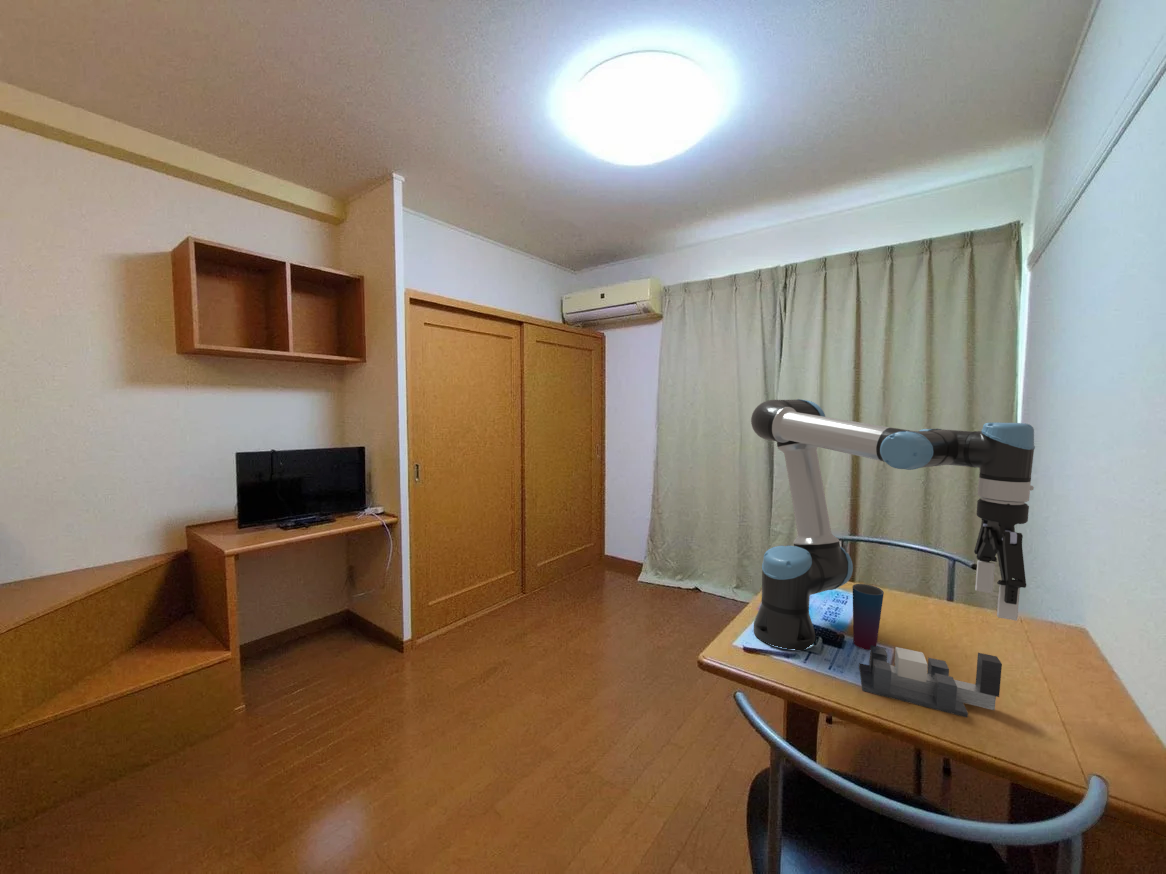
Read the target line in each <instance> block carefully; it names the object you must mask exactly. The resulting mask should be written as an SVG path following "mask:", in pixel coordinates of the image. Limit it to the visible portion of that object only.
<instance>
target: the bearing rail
mask: <svg viewBox="0 0 1166 874" xmlns="http://www.w3.org/2000/svg"><path fill="white" fill-rule="evenodd" d="M888 657H889V655H888V652H887V649H886V648H885V647H882V646H881V647H880V646H873V645H870V650H869V661H868V663H869V664H865V663H862V662H859V664H858V669H859V675H860V682H861V683H860V684H861V690H862V692H867V693H870V694H873V695H878V696H881V697H886V698H889V699H894V700H897V701H900V702H904V703H908V704H912V705H916V706H921V707H925V708H928V709H932V710H936V711H940V712H944V713H948V714H952V715H955V716H959V717H963V718H968V717H969V712H968V710H967V708H966V706H965V703H962V702H958V701H956V695H957V685H956V683H955V681H954V680H955V679H954V677H953V676H951V675H950V668H949V666H948V664H947V662H946V660H941V659H937V658H932V657H928V658H927V664H928V665H927V674H932V675H935V676H934V690H933V695H930V694H926V693H922V692H917V691H913V690H909V689H905V688H901V687H897V686H893V685H891V667H890V665H891V663H890V662H888Z"/></svg>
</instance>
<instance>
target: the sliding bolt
mask: <svg viewBox="0 0 1166 874" xmlns="http://www.w3.org/2000/svg"><path fill="white" fill-rule="evenodd" d="M976 660H977V661H976V673H975V674H976V675H975V683H971V682H965V681H962V680H957V679H954V681H955V683H956V685H957V695H956V701H958V702H962V703H964V704H966V705H971V706H975V707H978V708H983V709H986V710H992V711H996V701H997V699H996V698H1000V690H1001V689H1000V688H1001V678H1002V666H1003V663H1002V662H1001V660H1000V659H999V657H998V656H997V655H992V654H988V653H987V654H986V653H981V652H977V659H976ZM890 667H891V685H893V686H897V687H901V688H905V689H909V690H913V691H917V692H922V693H926V694H930V695H933V690H934V676H935V675H932V674H927V679H926V682H922V681H918V680H914V679H910V678H906V677H901V676H898V675H897V671H896V668H895V665H892V664H890Z"/></svg>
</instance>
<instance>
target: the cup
mask: <svg viewBox="0 0 1166 874" xmlns="http://www.w3.org/2000/svg"><path fill="white" fill-rule="evenodd" d="M884 594H885V593H884V590H883V589H881V588H879V587H877V586H875V585H871V584H867V583H866V584H865V583H856V584H853V585H852V631H853V632H852V633H853V636H852V637H853V641H852V642H853V644H854V645H855V647H858V648H859V649H861V650H866V651H870V645H873V646H877V645H878V638H879V631H880V630H879V628H880V621H881V615H882V610H883V609H882V607H883V601H884Z"/></svg>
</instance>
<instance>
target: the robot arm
mask: <svg viewBox="0 0 1166 874" xmlns="http://www.w3.org/2000/svg"><path fill="white" fill-rule="evenodd" d="M750 422H751V427H752V429H753V431H754V433H755V434H756V435H757V436H758V437H760V438H761V439H763V440H766V441H773V442H776V445H777V446H776V447H777V449H778V450H780V451H781V452H782V453H783V454H784V461H785V465H786V466H785V467H786V471H787V477H788V478H787V479H788V484H789V490H790V495H791V502H792V508H793V513H794V520H795V526H796V532H797V537H796V538H795V539H794V540H793V545H777V546H776V545H775V546H773V547H771V548H769V549H767V550H766V551H765V553H764V554H763V558H762V559H763V560H762V563H761V564H762V565H761V570H762V571H761V573H762V576H761V583H762V584H761V603H760V606H759V608H758V611H757V614H756V616H755V618H754V620H753V621H754V622H753V633H754V635H755V636H756V637H757V639H759V640H760V639H761V640H763V641H765V642H767V643H769V644H771V645H774V646H778V647H782V648H787V649H795V650H802V651H805V650H804V649H806V648H807V647H809V646H810V645H812V644H813V643H814V641H815V642H816V633H815V632H816V631H815V628H814V625H813V622H812V618H811V615H810V596H811V595H815V594H819V593H822V592H823V593H824V592H826V591H832V590H836V589H838V588H840V587H842V586H844V585H846V584H847V583H848V582H849V581H850V580H851V578H852V575H853V569H854V566H853V565H854V564H853V561H852V557H851V556H850V553H848V552H847V551H846V550H845V548H843V546H841V544H840V539H839V538H838V537H836V536H835V535H833V534H832V530H831V529H832V528H831V524H830V518H829V512H828V506H827V500H826V495H825V488H824V484H823V478H822V473H821V466H820V462H819V456H818V451H817V450H818V448H822V449H827V450H831V451H835V452H840V453H843V454H844V453H845V454H849V455H851V456H852V455H853V456H858V457H861V458H867V459H872V460H876V461H880V462H884V463H886V465H888V466H889V467H891V468H894V469H897V470H908V471H911V470H917V469H921V468H923V469H924V468H930V467H938V466H939V467H941V466H957V467H965V468H966V467H967V468H968V467H969V468H974V469H975V468H978V469H979V475H978V484H977V485H978V486H977V497H979V499H977V501H976V503H977V504H976V516H977V517H978V518H979V519H981V522H980V523H981V524H980V529H979V533H978V536H977V539H976V543H975V547H974V551H973V552H974V554H975V555H976V559H977V562H976V573H975V574H976V575H975V587H974V588H975V589H974V590H975V591H976V592H982V593H988V594H993V592H994V581H995V580H994V578H995V567H996V563H997V562H998V566H999V573H1000V577H1001V579H999V580H998V581H997V582H996V584H997V585H998V586H999V587H998V596H997V597H998V599H997V610H996V617H997V618H999V619H1006V620H1011V621H1018V617H1019V602H1020V592H1021V591H1020V590H1021V588H1024V589H1025V588H1027V582H1026V571H1025V560H1024V552H1023V550H1024V549H1023V537H1024V535H1023V533H1022V532H1016V530H1015V525H1025V524H1026V523H1028V521H1029V511H1030V506H1029V505H1028V504H1027V502H1029V501H1030V496H1031V494H1030V491H1034V488H1035V487H1034V485H1031V483H1032V482H1031V481H1032V472H1033V471H1032V470H1033V462H1034V452H1035V449H1036V446H1035V429H1034V427H1033V426H1032V425H1031V424H1028V423H1023V422H1001V421H1000V422H996V421H995V422H986V423H984V424H983V426H982V429H981V430H978V431H975V430H974V431H971V430H970V431H969V430H956V429H942V428H923V429H919V430H909V429H903V428H899V427H898V428H897V427H891V426H890V427H888V426H884V425H883V426H882V425H878V424H873V423H872V424H871V423H866V422H858V421H852V420H848V419H841V418H834V417H828V416H826V414H825V412H824V410H823V409H822V408H821V406H820V405H819V404H817V403H816V402H813V401H812V400H811V401H810V400H807V399H799V398H797V399H769V400H766V401H763V402H761V403H760V404H759V405H757V407H755V409H754V410H753V412H752V414H751V419H750ZM996 555H997V556H996ZM761 640H760V641H761ZM763 641H762V642H763ZM765 642H764V643H765ZM767 643H766V644H767ZM769 644H768V645H769ZM771 645H770V646H771ZM774 646H773V647H774Z"/></svg>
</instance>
